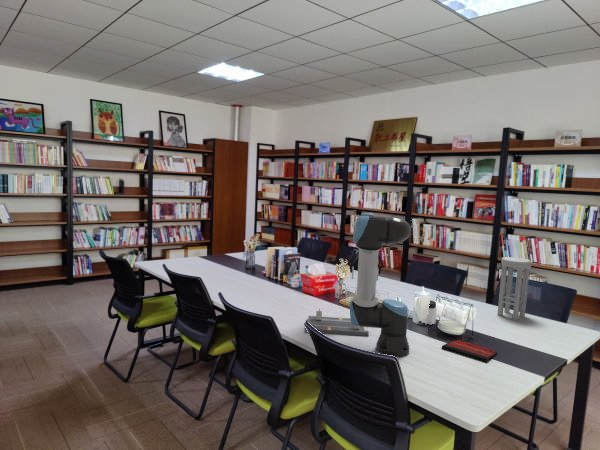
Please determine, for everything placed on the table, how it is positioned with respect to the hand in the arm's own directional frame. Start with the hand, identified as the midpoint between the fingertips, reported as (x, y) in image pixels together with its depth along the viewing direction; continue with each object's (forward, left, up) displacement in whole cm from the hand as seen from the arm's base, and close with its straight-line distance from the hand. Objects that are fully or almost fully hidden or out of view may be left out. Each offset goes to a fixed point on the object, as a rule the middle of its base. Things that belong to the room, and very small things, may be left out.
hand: (364, 279), depth 232 cm
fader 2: (-17, +4, -22) cm, 28 cm away
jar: (+6, -37, -24) cm, 45 cm away
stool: (+29, -92, -24) cm, 99 cm away
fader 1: (-7, +24, -22) cm, 33 cm away
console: (-12, +14, -24) cm, 31 cm away
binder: (-32, -49, -25) cm, 64 cm away
